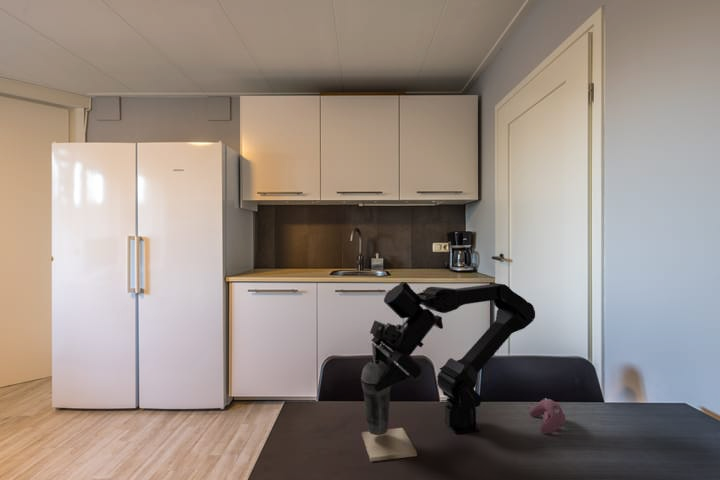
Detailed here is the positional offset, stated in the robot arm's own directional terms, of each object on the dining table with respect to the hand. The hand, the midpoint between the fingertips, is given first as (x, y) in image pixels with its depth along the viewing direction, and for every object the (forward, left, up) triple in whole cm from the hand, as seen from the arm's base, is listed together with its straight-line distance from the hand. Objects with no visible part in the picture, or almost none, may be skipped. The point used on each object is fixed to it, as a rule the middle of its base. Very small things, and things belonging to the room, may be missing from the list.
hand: (371, 383), depth 77 cm
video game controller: (-44, +1, -14) cm, 46 cm away
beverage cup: (-2, 0, -11) cm, 11 cm away
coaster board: (-3, +2, -13) cm, 14 cm away
